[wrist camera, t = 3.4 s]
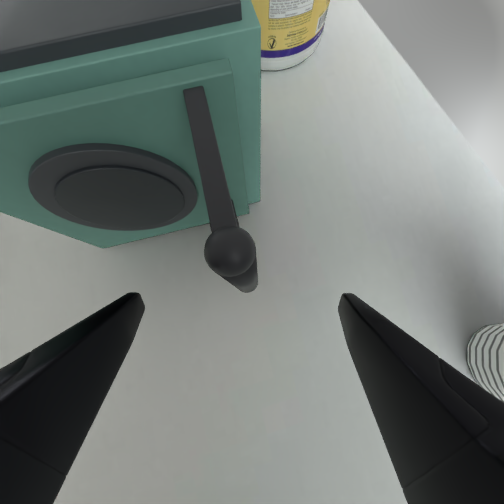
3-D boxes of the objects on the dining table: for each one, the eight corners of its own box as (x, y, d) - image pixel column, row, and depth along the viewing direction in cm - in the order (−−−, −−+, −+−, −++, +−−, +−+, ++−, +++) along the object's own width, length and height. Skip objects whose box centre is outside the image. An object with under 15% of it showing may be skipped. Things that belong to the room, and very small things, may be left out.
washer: (260, 201, 20) (261, -37, 6) (100, 239, 20) (-294, 78, 6) (234, 109, 23) (195, -190, 9) (95, 141, 23) (-168, -122, 9)
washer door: (269, 289, 17) (290, 257, 5) (107, 330, 17) (-253, 391, 5) (247, 206, 19) (227, 50, 7) (102, 240, 19) (-161, 134, 7)
